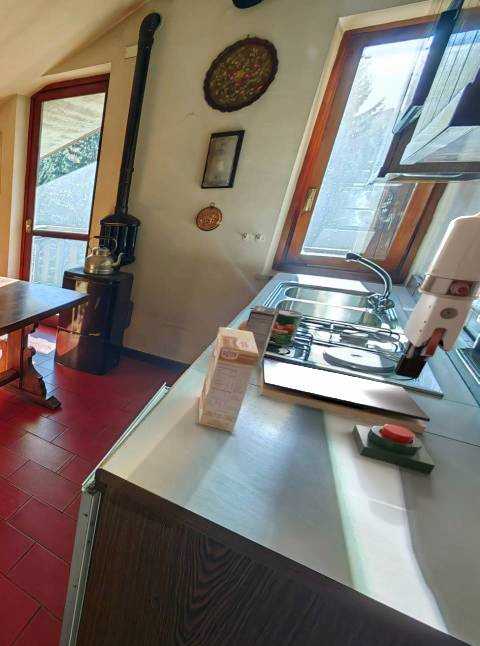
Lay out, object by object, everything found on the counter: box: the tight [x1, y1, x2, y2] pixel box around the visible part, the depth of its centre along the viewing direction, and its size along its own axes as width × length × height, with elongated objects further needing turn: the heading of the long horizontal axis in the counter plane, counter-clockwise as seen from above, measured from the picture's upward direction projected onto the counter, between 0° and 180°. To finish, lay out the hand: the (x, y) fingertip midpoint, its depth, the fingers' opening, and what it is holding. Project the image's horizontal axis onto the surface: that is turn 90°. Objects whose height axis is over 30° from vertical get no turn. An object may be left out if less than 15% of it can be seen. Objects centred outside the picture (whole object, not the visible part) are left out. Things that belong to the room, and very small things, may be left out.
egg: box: [236, 319, 248, 331], centre depth 133 cm, size 7×7×9 cm
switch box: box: [351, 423, 436, 475], centre depth 80 cm, size 10×10×4 cm
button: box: [381, 424, 416, 443], centre depth 79 cm, size 4×4×2 cm
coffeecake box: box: [198, 326, 259, 433], centre depth 90 cm, size 15×7×20 cm, turn 150°
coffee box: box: [245, 305, 281, 365], centre depth 122 cm, size 9×6×16 cm
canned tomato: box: [268, 308, 304, 347], centre depth 135 cm, size 8×8×11 cm
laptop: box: [259, 361, 427, 434], centre depth 102 cm, size 21×30×2 cm
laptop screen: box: [262, 358, 431, 422], centre depth 102 cm, size 21×30×1 cm
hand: (405, 375), depth 79 cm, fingers closed
